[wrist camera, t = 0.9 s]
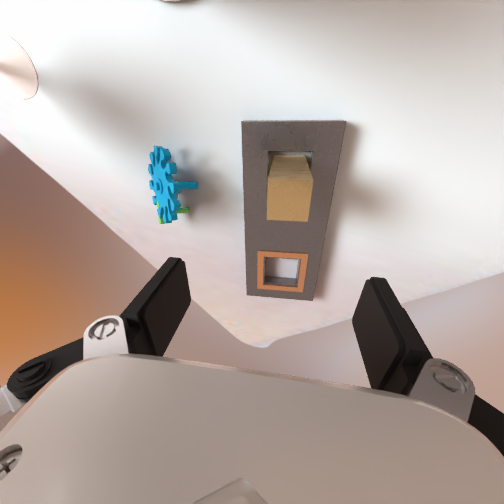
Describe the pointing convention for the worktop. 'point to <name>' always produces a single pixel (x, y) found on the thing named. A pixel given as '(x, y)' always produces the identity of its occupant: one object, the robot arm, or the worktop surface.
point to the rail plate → (287, 232)
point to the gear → (166, 185)
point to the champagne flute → (16, 69)
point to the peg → (289, 188)
